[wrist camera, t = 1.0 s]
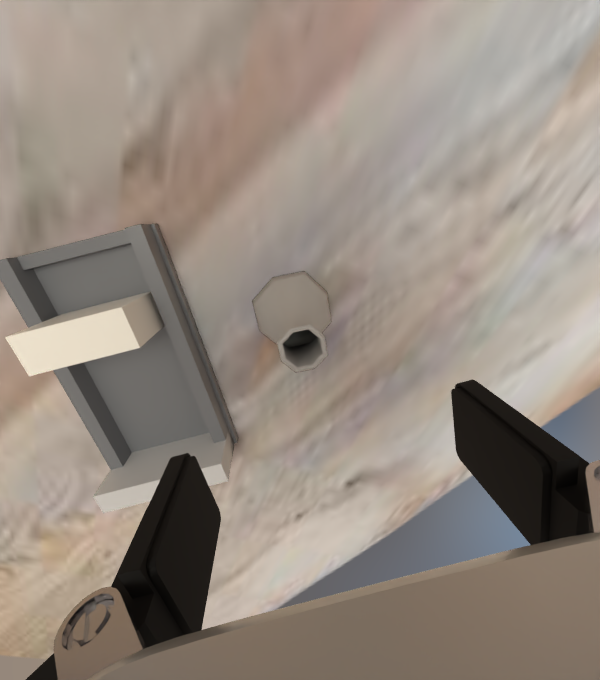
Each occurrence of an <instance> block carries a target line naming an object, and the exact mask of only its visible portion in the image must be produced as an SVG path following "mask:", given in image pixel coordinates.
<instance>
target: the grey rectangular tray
mask: <svg viewBox="0 0 600 680" xmlns="http://www.w3.org/2000/svg"><path fill="white" fill-rule="evenodd" d="M0 280H1V282H2V283H3V285H4V287H5V288H6V290H7V292H8V294H9V295H10V297H11V299H12V300H13V302H14V304H15V306H16V307H17V309H18V311H19V312H20V314H21V316H22V318H23V319H24V321H25V323H26V325H27V326H28V328H29V327H31V326H34V325H36V324H39V323H41V322H44V321H46V320H49V319H51V318H54V317H56V316H59V315H61V314H65V313H68V312H72V311H76V310H80V309H84V308H88V307H92V306H96V305H100V304H103V303H107V302H111V301H115V300H119V299H123V298H127V297H131V296H135V295H139V294H142V293H146V292H150V291H151V293H152V295H153V298H154V300H155V303H156V305H157V307H158V310H159V312H160V315H161V317H162V319H163V322H164V324H165V326H164V327H163V328H161V329H160V330H159V331H158V332H157V333H156V334H155V335H154V336H153V337H152V338H150V339H149V340H148V341H147V342H146V343H145V344H144V345H143V346H142V347H140V348H137V349H133V350H130V351H126V352H122V353H118V354H114V355H110V356H106V357H102V358H98V359H95V360H91V361H87V362H83V363H79V364H75V365H71V366H67V367H63V368H60V369H56V370H53V371H54V373H55V374H56V376H57V378H58V380H59V381H60V383H61V385H62V386H63V388H64V390H65V392H66V393H67V395H68V397H69V399H70V400H71V402H72V404H73V405H74V407H75V409H76V411H77V412H78V414H79V416H80V417H81V419H82V421H83V423H84V424H85V426H86V428H87V430H88V431H89V433H90V435H91V436H92V438H93V440H94V442H95V443H96V445H97V447H98V448H99V450H100V452H101V454H102V455H103V457H104V459H105V460H106V462H107V464H108V466H109V467H110V469H111V470H110V472H109V473H108V475H107V476H106V478H105V479H104V481H103V482H102V484H101V485H100V487H99V488H98V490H97V491H96V493H95V494H94V496H93V498H94V499H95V501H96V502H97V504H98V506H99V507H100V509H101V510H102V512H103V513H107V512H111V511H115V510H118V509H122V508H126V507H130V506H134V505H138V504H142V503H146V502H149V501H151V499H152V497H153V495H154V493H155V490H156V488H157V486H158V484H159V482H160V479H161V477H162V475H163V473H164V471H165V468H166V466H167V464H168V462H169V460H170V458H171V457H174V456H178V455H182V454H185V453H189V454H190V455H191V456H195V457H196V459H197V461H198V463H199V465H200V468H201V470H202V472H203V474H204V477H205V479H206V481H207V484H208V486H211V485H215V484H219V483H223V482H227V481H228V479H229V473H230V467H231V462H232V456H233V450H234V444H235V443H237V442H238V436H237V433H236V431H235V428H234V425H233V423H232V420H231V417H230V415H229V412H228V409H227V407H226V404H225V401H224V399H223V396H222V394H221V391H220V388H219V386H218V383H217V380H216V378H215V375H214V372H213V370H212V367H211V364H210V362H209V359H208V356H207V354H206V351H205V349H204V346H203V343H202V341H201V338H200V335H199V333H198V330H197V327H196V325H195V322H194V319H193V317H192V314H191V311H190V309H189V306H188V303H187V301H186V298H185V296H184V293H183V290H182V288H181V285H180V282H179V280H178V277H177V274H176V272H175V269H174V266H173V264H172V261H171V258H170V256H169V253H168V251H167V248H166V245H165V243H164V240H163V237H162V235H161V232H160V229H159V227H158V224H139V225H135V226H131V227H127V228H125V230H121V231H117V232H114V233H110V234H106V235H102V236H98V237H94V238H90V239H86V240H82V241H78V242H75V243H71V244H67V245H63V246H59V247H55V248H51V249H47V250H43V251H39V252H35V253H32V254H28V255H24V256H20V257H15V258H6V259H2V260H0Z"/></svg>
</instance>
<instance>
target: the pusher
mask: <svg viewBox="0 0 600 680" xmlns="http://www.w3.org/2000/svg"><path fill="white" fill-rule="evenodd" d="M164 326H165V324H164V322H163V319H162V317H161V315H160V312H159V310H158V307H157V305H156V303H155V300H154V298H153V295H152V293H151V291H150V292H146V293H142V294H139V295H135V296H131V297H127V298H123V299H119V300H115V301H111V302H107V303H103V304H100V305H96V306H92V307H88V308H84V309H80V310H76V311H72V312H68V313H65V314H61V315H59V316H56V317H54V318H51V319H49V320H46V321H44V322H41V323H39V324H36V325H34V326H31V327H29V328H26V329H24V330H22V331H19V332H17V333H14V334H12V335H9V336H7V337H5V338H6V340H7V341H8V343H9V344H10V346H11V348H12V349H13V351H14V353H15V354H16V356H17V357H18V359H19V361H20V362H21V364H22V366H23V367H24V369H25V370H26V372H27V374H28V375H29V376H32V375H36V374H40V373H44V372H48V371H52V370H56V369H60V368H63V367H67V366H71V365H75V364H79V363H83V362H87V361H91V360H95V359H98V358H102V357H106V356H110V355H114V354H118V353H122V352H126V351H130V350H133V349H137V348H140V347H142V346H143V345H144V344H145V343H146V342H147V341H148V340H149V339H150V338H152V337H153V336H154V335H155V334H156V333H157V332H158V331H159V330H160V329H161V328H163V327H164Z"/></svg>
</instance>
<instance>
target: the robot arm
mask: <svg viewBox="0 0 600 680" xmlns="http://www.w3.org/2000/svg"><path fill="white" fill-rule="evenodd" d="M451 394H452V406H453V418H454V431H455V443H456V451H457V454H458V457H459V458H460V460H461V461H462V462H463V464H464V465H465V466H466V467H467V468H468V470H469V471H470V472H471V473H472V474H473V476H474V477H475V478H476V479H477V480H478V482H479V483H480V484H481V485H482V487H483V488H484V489H485V490H486V491H487V493H488V494H489V495H490V496H491V497H492V499H493V500H494V501H495V502H496V503H497V504H498V505H499V507H500V508H501V509H502V510H503V512H504V513H505V514H506V515H507V517H508V518H509V519H510V520H511V521H512V523H513V524H514V525H515V526H516V527H517V529H518V530H519V531H520V532H521V533H522V535H523V536H524V537H525V538H526V539H527V541H528V542H529V543H530V544H531V545H530V546H525V547H521V548H517V549H512V550H508V551H504V552H500V553H496V554H492V555H488V556H484V557H480V558H476V559H472V560H468V561H464V562H460V563H456V564H452V565H448V566H444V567H440V568H436V569H432V570H428V571H424V572H420V573H416V574H413V575H408V576H405V577H401V578H397V579H393V580H389V581H385V582H381V583H377V584H373V585H370V586H366V587H362V588H358V589H354V590H350V591H346V592H342V593H339V594H335V595H331V596H327V597H323V598H319V599H315V600H312V601H308V602H304V603H301V604H297V605H293V606H289V607H286V608H281V609H278V610H274V611H270V612H266V613H262V614H259V615H255V616H251V617H247V618H244V619H240V620H236V621H232V622H229V623H225V624H222V625H218V626H215V627H211V628H208V629H204V630H201V629H202V623H203V617H204V612H205V606H206V601H207V595H208V589H209V584H210V578H211V573H212V567H213V561H214V556H215V550H216V545H217V539H218V533H219V528H220V522H221V516H220V511H219V508H218V506H217V504H216V502H215V499H214V497H213V495H212V493H211V490H210V488H209V486H208V484H207V481H206V479H205V477H204V474H203V472H202V470H201V468H200V465H199V463H198V461H197V459H196V457H195V456H191V455H190V454H189V453H185V454H182V455H178V456H174V457H171V458H170V460H169V462H168V464H167V466H166V468H165V471H164V473H163V475H162V477H161V479H160V482H159V484H158V486H157V488H156V490H155V493H154V495H153V497H152V499H151V501H150V504H149V506H148V508H147V509H146V511H145V514H144V516H143V518H142V520H141V522H140V525H139V527H138V529H137V531H136V533H135V536H134V538H133V540H132V542H131V544H130V547H129V549H128V551H127V553H126V555H125V558H124V560H123V562H122V564H121V566H120V568H119V571H118V573H117V575H116V577H115V579H114V582H113V584H112V586H111V587H105V588H101V589H99V590H97V591H95V592H93V593H91V594H90V595H88V596H87V597H86V598H84V599H83V600H82V601H81V602H80V603H79V604H77V605H76V606H75V607H74V608H73V610H72V611H71V612H70V613H69V614H68V616H67V617H66V618H65V620H64V621H63V623H62V625H61V626H60V628H59V630H58V632H57V635H56V638H55V640H54V654H53V655H51V656H50V657H49V658H48V659H47V660H46V661H45V662H44V663H43V664H42V665H41V666H40V667H39V668H38V669H37V670H35V671H34V672H33V673H32V674H31V675H30V676H29V677H28V678H27V679H26V680H600V460H598V461H595V462H592V463H590V464H589V463H588V462H587V461H585V460H584V459H582V458H581V457H580V456H579V455H577V454H576V453H574V452H573V451H572V450H570V449H569V448H568V447H566V446H564V445H563V444H562V443H561V442H559V441H558V440H557V439H555V438H554V437H552V436H551V435H550V434H548V433H547V432H545V431H544V430H543V429H541V428H540V427H539V426H537V425H536V424H534V423H533V422H532V421H530V420H529V419H528V418H526V417H525V416H523V415H522V414H521V413H519V412H518V411H517V410H515V409H514V408H512V407H511V406H510V405H508V404H507V403H506V402H504V401H503V400H501V399H500V398H499V397H497V396H496V395H494V394H493V393H492V392H490V391H489V390H488V389H486V388H485V387H483V386H482V385H481V384H479V383H478V382H477V381H475V380H469V381H466V382H462V383H458V384H456V386H455V389H452V392H451Z"/></svg>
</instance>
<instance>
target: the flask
mask: <svg viewBox="0 0 600 680" xmlns="http://www.w3.org/2000/svg"><path fill="white" fill-rule="evenodd" d="M252 303H253V307H254V311H255V315H256V319H257V323H258V327H259V331H261V332H262V333H263V334H264V335H266V336H267V337H268V338H269V339H271V340H272V341H273V342H274V343H276V344H277V345H278V349H279V354H280V358H281V361H282V362H283V363H284V364H285V365H287V366H288V367H289V368H290V369H292V370H293V371H294V372H295V373H297V372H302V371H307V370H311V369H315V368H316V367H317V366H318V365H319V364H320V363H321V362H322V361H323V360H324V359H325V358H326V357H327V356H328V352H327V346H326V340H325V336H324V335H323V334H322V332H323V331H324V330H325V328H326V327H327V326H328V325H329V324H330V323H331V322H332V320H331V314H330V308H329V301H328V295H327V292H326V291H325V290H324V289H323V288H322V287H321V286H320V285H319V284H318V283H317V282H316V281H315V280H313V279H312V278H311V277H310V276H309V275H308V274H307V273H306V272H305V271H302V272H297V273H292V274H287V275H282V276H277V277H273V278H272V279H271V280H270V281H269V282H268V283H267V285H266V286H265V287H264V288H263V289H262V290H261V292H260V293H259V294H258V295H257V296H256V297H255V298H254V300H253V301H252Z"/></svg>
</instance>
